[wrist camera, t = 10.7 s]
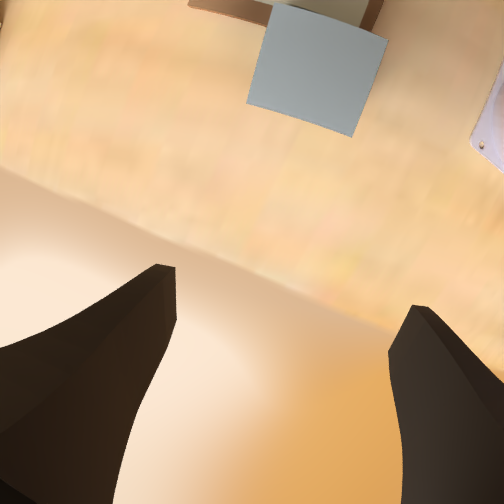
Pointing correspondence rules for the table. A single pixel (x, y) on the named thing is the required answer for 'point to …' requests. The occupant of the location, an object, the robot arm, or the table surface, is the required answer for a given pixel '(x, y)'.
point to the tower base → (270, 10)
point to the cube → (315, 68)
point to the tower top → (330, 8)
